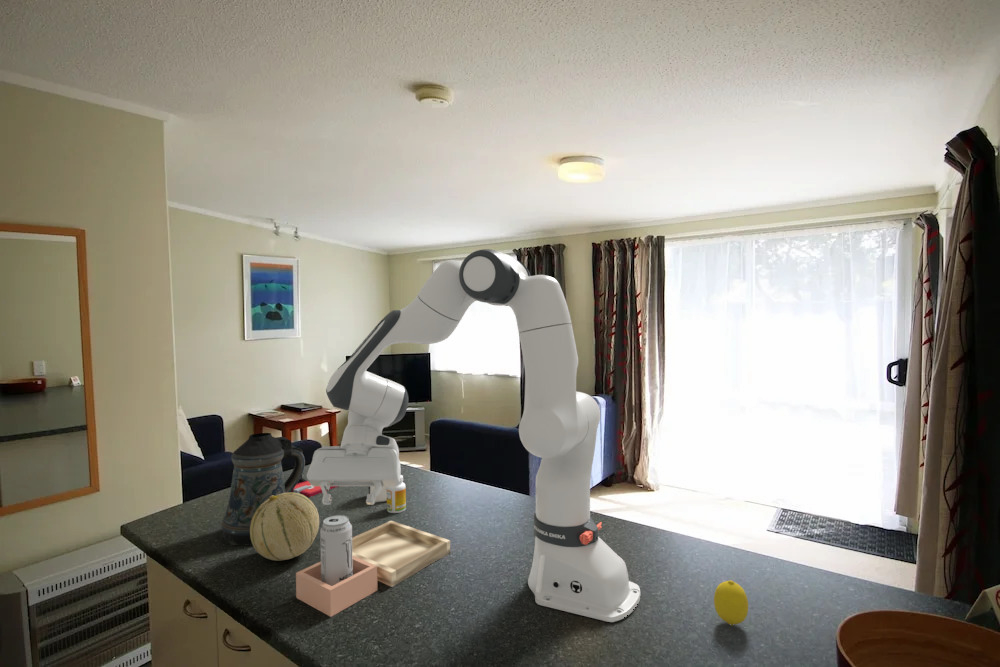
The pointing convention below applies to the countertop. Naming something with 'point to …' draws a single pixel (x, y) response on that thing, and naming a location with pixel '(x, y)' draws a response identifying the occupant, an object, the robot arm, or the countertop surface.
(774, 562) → the countertop surface
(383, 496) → the white upright blocky piece
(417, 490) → the countertop surface
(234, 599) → the countertop surface
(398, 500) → the supplement bottle
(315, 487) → the red board with handle
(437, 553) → the tray
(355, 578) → the frame
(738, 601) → the lemon
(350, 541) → the energy drink can
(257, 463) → the beer stein
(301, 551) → the cantaloupe
